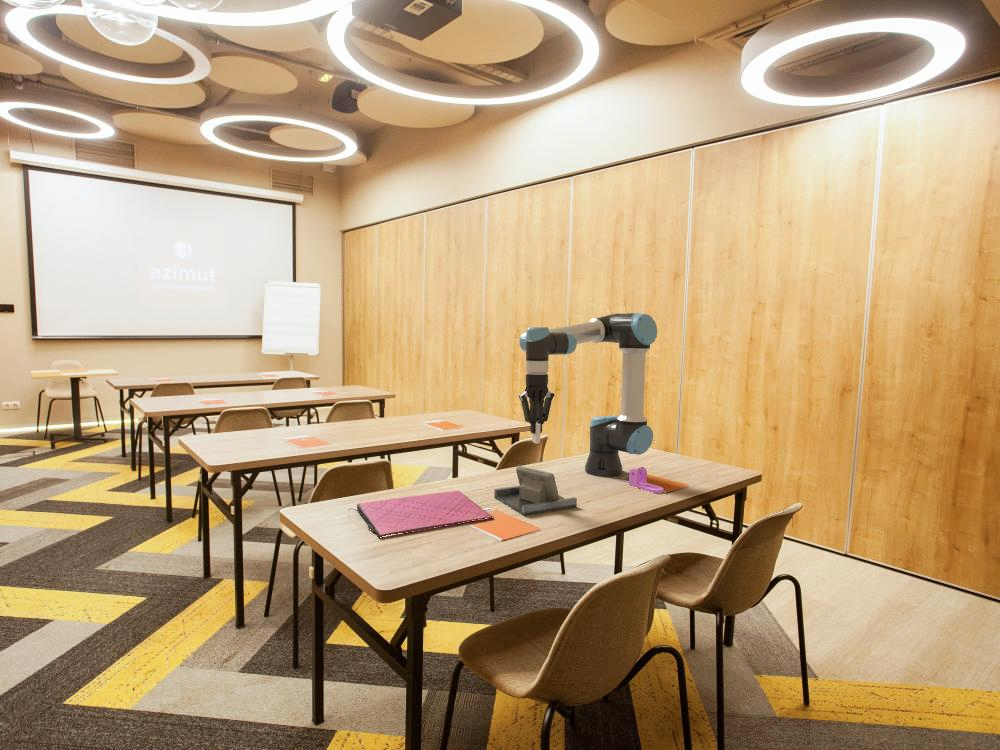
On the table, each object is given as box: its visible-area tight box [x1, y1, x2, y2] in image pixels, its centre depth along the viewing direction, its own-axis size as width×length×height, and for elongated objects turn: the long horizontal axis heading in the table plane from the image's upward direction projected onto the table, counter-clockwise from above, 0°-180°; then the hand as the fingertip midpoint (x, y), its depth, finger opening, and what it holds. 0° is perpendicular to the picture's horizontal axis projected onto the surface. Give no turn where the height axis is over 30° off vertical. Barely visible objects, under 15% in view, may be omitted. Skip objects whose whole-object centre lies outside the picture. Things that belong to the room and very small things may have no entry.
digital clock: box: [515, 465, 560, 503], centre depth 191 cm, size 16×9×11 cm, turn 36°
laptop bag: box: [347, 490, 495, 539], centre depth 177 cm, size 40×4×27 cm
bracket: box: [628, 466, 665, 494], centre depth 209 cm, size 13×6×7 cm, turn 35°
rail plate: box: [493, 485, 578, 517], centre depth 192 cm, size 20×21×3 cm
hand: (536, 442), depth 191 cm, fingers closed
